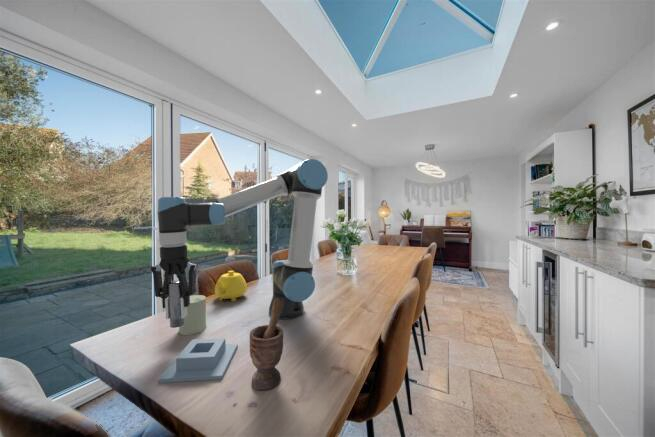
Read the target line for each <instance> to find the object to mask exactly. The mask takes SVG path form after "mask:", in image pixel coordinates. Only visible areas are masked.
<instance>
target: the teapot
mask: <svg viewBox="0 0 655 437" xmlns="http://www.w3.org/2000/svg"><path fill="white" fill-rule="evenodd" d="M243 276H244V275H243V274H241V273H239V272H235V270H228V271H227V273H223V274H222V275H221V276H220V277H219V279H218V280H217V282H216V284H215V287H214V294H215V295H216V296H217V297H218V298H219V299H218V301H224V300H226V299H227V300H228V299H230V301H231V302H236V301H237V300H238V298H239V297H240V298H241V297H244V295H245V293H246V292H247V291H248V284H247V282H246V280H245V278H244V277H243ZM223 299H224V300H223Z"/></svg>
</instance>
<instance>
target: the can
mask: <svg viewBox="0 0 655 437" xmlns="http://www.w3.org/2000/svg"><path fill="white" fill-rule="evenodd" d="M206 300H207V297H206V296H205V295H202V294H192V295H190V305H189V306H188V307H187V313H188V315H187V316H186V317H184V325H182V326H180V327H178V333H179V335H182V336H191V335H196V334H199V333H201V332H203V331H205V330H206V329H207V315H206V314H207V311H206V310H207V306H206V304H207V301H206Z"/></svg>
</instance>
